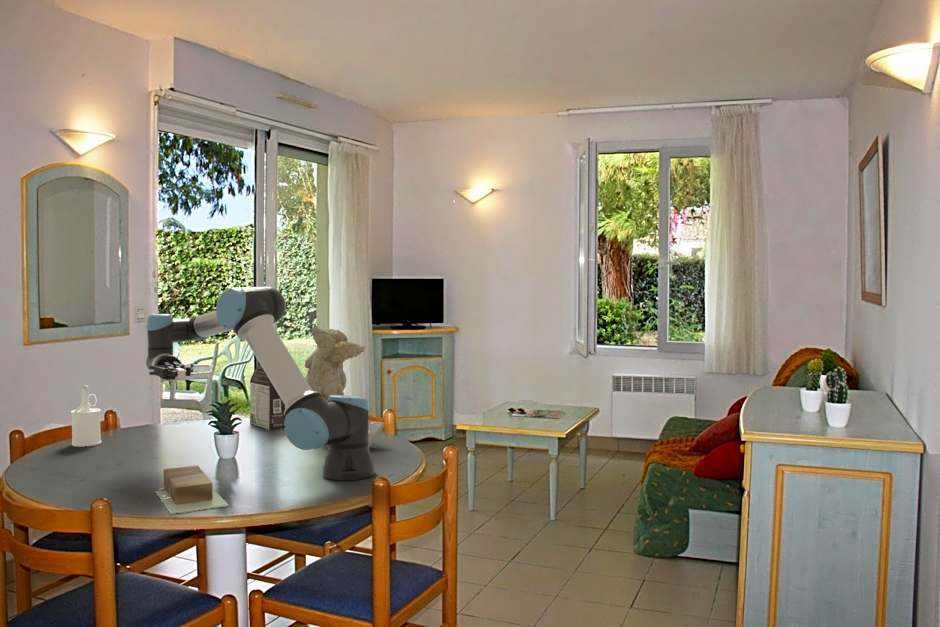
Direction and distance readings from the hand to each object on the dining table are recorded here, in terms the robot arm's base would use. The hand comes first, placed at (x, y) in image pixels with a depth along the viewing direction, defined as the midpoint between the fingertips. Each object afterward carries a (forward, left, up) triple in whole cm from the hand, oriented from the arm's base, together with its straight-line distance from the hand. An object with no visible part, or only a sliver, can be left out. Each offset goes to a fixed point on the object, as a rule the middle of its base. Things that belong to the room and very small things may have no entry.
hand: (182, 375), depth 234 cm
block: (-7, +6, -26) cm, 28 cm away
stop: (-9, +7, -30) cm, 32 cm away
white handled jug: (+66, -8, -30) cm, 72 cm away
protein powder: (+41, -66, -30) cm, 83 cm away
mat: (-19, +12, -30) cm, 37 cm away
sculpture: (+11, -71, -30) cm, 78 cm away
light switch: (-14, -60, -30) cm, 69 cm away
